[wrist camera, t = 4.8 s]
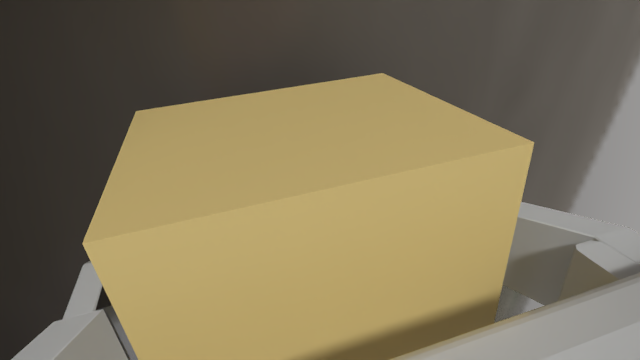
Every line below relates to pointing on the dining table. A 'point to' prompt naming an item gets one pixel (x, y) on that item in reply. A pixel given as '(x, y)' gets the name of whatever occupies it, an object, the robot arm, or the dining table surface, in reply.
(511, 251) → the robot arm
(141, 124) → the ochre brick
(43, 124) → the dining table surface
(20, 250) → the dining table surface
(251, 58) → the dining table surface
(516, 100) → the dining table surface
